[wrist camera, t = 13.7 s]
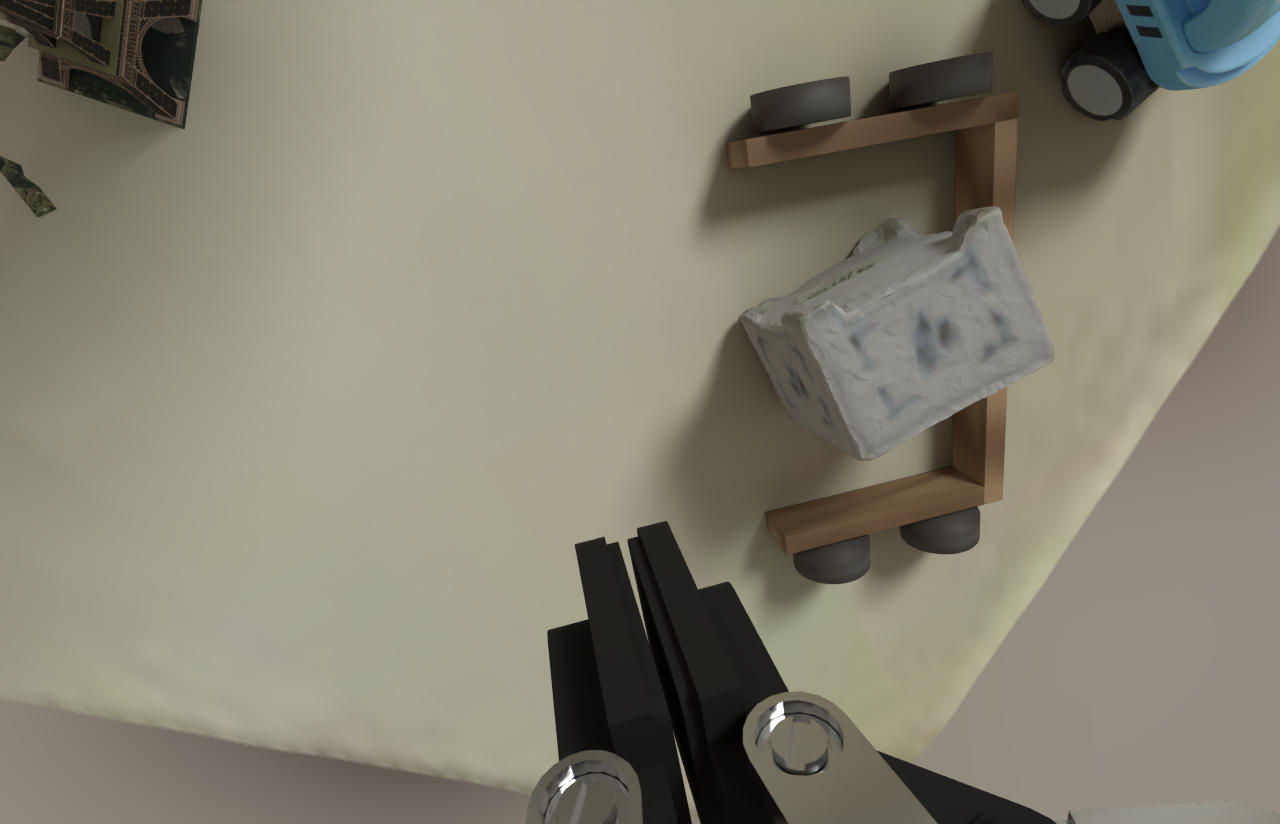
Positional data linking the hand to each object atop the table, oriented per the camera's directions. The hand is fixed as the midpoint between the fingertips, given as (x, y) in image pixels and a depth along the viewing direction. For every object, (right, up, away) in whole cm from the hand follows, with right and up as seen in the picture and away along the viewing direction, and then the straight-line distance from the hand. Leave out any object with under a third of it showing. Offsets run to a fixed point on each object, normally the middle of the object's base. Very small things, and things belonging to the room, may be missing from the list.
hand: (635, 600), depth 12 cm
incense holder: (+10, +9, +25) cm, 28 cm away
